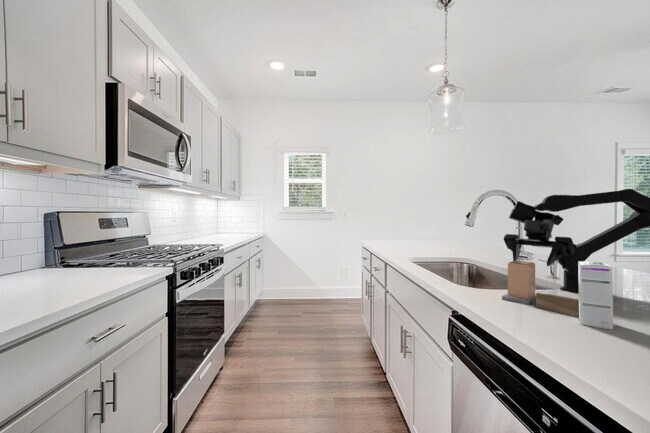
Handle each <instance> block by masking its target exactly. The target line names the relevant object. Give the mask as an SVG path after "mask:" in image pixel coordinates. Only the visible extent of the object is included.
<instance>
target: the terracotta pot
mask: <svg viewBox="0 0 650 433" xmlns="http://www.w3.org/2000/svg"><path fill="white" fill-rule="evenodd" d="M507 294H508V295H509V296H514V297H519V298H524V299H530V298H532V297H534V296H535V294H536V263H535V262H533V261H523V260H517V261H513V260H512V261H509V262H508V263H507Z"/></svg>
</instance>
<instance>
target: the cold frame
mask: <svg viewBox="0 0 650 433" xmlns="http://www.w3.org/2000/svg"><path fill="white" fill-rule="evenodd" d="M535 294H536V301H535V305H536V306H535V307H536V308H538V309H542V308H543V310H547V311H552V312H557V313H561V314H566V315H571V316H575V317H579V298H575V297H574V298H573V297H572V298H571V297H567V296H561V295H555V294H550V293H547V294H546V293H540V292H535Z"/></svg>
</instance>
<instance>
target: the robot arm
mask: <svg viewBox="0 0 650 433" xmlns="http://www.w3.org/2000/svg"><path fill="white" fill-rule="evenodd" d="M612 203H622V204H625V205H626V206H627V207H628V208H630V209H631V210H633V212H631V214H630V215H629V216H628V217H627V218H626V219H625V220H623V221H620V222H619V223H617V224H615V225H613V226H611V227H610V228H608V229H606V230H603V231H602V232H600V233H598V234H596V235H594V236H592V237H591V238H589V239H586V240H585V241H583V242H581V243H578V244H575V243H574V241H573V238H572V237H570V236H569V237H568V236H555V237H554V240H550V239H551V238H552V236H553V235H552V232H553V229H554V226H560V224H561V223H562V222H563V221H564V218H563V217H562V216H560V215H559V214H557V215H556V214H553V213H555V212H556V213H557V212H561V211H566V210H569V209H574V208H577V207H583V206H593V205H602V204H603V205H604V204H612ZM544 211H545V212H544ZM546 211H547V212H546ZM508 218H509V219H510V220H513V221H517V222H518V223H522V224H523V231H525V237H526V238H523V237H521V238H520V236H519V234H515V233H514V234H513V233H511V234H510V233H507V234H505V235H504V236H503V241H504V244H505V246H506V248H507V249H508V250H510V251H511V252H512V261H518V258H519V257H520V254H521V252H522V251H521V249H522V246H531V247H537V248H548V249H550V248H551V250H550V253H549V256H548V257H547V261H546V267H550V266H551V265H552V264H554V263H555V262H556V263H557V264H558V265H560V266H561V268H562V269H563V285H562V286H561V287H560V288H559V290H561V291H562V290H563V291H567V292H568V291H569V292H575V293H579V281H578V262H579V261H580V262H583V261H586V260H588V258H589V257H590V256H591V255H592V254H595V253H596V252H599V251H600V250H602V249H604V248H605V247H608V246H609V245H610V246H611V245H612V244H614V243H616V242H618V241H620V240H622V239H624V238H625V237H628V236H629V235H632V234H633V233H635V232H637V231H639V230H641V229H642V230H643V229H645V228H649V227H650V197H649V196H648V195H647V196H646V195H645V194H642V193H640V192H638V191H637V190H635V189H632V188H625V189H621V190H614V191H605V192H596V193H590V194H589V193H587V194H578V195H576V194H574V195H571V194H552V195H548V196H546V197H544V198H543V199H542V201H541V203H538V204H535V206H533V205H529V204H526V203H524V202H522V201H518V200H517V202H516V204H515V205H514V207H513V209H512V210H511V212H510V214H509V216H508Z"/></svg>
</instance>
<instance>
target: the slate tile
mask: <svg viewBox="0 0 650 433" xmlns="http://www.w3.org/2000/svg"><path fill="white" fill-rule="evenodd" d="M501 299H502V300H503V301H509V302H513V303H518V304H522V305H523V304H524V305H528V306H529V305H531V304H533V303H535V302H536V293H535V296H534V297H532V298H530V299H524V298H519V297H514V296H509V295H508V293H506V294H504V295H502V296H501ZM534 301H535V302H534Z"/></svg>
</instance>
